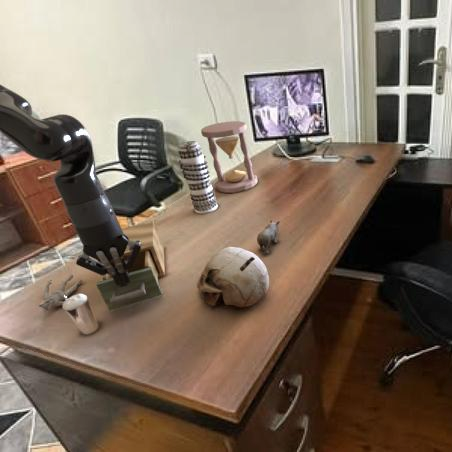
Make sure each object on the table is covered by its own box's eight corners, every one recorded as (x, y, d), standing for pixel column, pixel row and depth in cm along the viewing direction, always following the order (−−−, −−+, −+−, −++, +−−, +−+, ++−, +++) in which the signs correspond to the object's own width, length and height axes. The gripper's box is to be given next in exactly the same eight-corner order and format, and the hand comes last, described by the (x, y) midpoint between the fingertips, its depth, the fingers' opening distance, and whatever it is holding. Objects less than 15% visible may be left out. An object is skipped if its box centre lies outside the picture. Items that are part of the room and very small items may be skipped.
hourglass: (264, 177, 156) (253, 120, 144) (246, 193, 141) (232, 131, 129) (229, 177, 160) (215, 121, 148) (208, 192, 146) (191, 132, 133)
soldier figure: (93, 285, 96) (69, 302, 84) (83, 299, 96) (57, 318, 84) (65, 270, 94) (37, 284, 82) (55, 284, 94) (25, 301, 82)
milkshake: (90, 319, 82) (70, 286, 77) (106, 323, 80) (88, 289, 75) (71, 333, 78) (50, 299, 74) (88, 338, 77) (68, 303, 72)
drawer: (162, 305, 83) (151, 279, 79) (107, 323, 79) (93, 296, 75) (161, 265, 98) (151, 241, 94) (115, 278, 94) (103, 254, 91)
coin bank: (202, 281, 91) (193, 237, 84) (269, 275, 94) (266, 233, 87) (192, 325, 78) (181, 278, 71) (271, 317, 81) (267, 271, 74)
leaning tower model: (193, 206, 135) (174, 142, 123) (218, 201, 137) (201, 137, 125) (193, 215, 127) (172, 148, 115) (219, 210, 129) (201, 144, 117)
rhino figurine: (286, 231, 111) (283, 214, 108) (269, 255, 100) (265, 237, 97) (274, 230, 112) (270, 214, 109) (256, 254, 101) (252, 236, 98)
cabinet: (164, 275, 95) (152, 245, 91) (112, 291, 91) (97, 260, 86) (163, 248, 108) (153, 221, 103) (117, 261, 104) (104, 232, 99)
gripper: (130, 203, 77) (155, 267, 85) (60, 218, 72) (94, 284, 81) (128, 216, 71) (155, 284, 79) (51, 234, 66) (89, 304, 75)
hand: (124, 284), depth 80 cm, fingers closed
